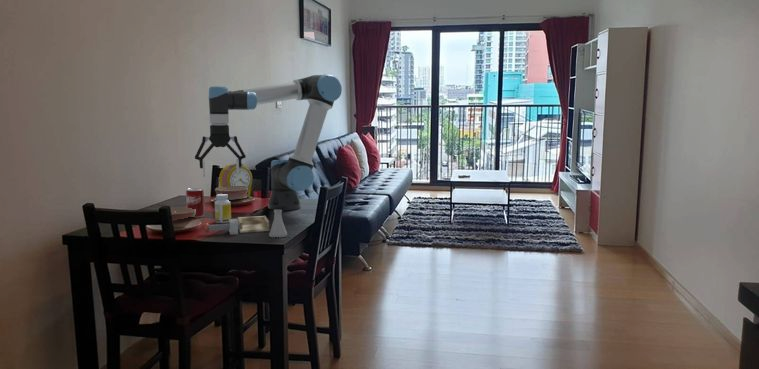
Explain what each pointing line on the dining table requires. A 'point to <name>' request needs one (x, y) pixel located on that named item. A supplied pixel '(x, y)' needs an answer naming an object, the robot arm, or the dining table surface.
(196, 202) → the soda can
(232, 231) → the pin mount
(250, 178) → the alarm clock
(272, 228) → the flask
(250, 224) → the dock
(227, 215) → the pill bottle
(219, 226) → the lock pin
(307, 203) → the dining table surface
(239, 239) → the dining table surface
